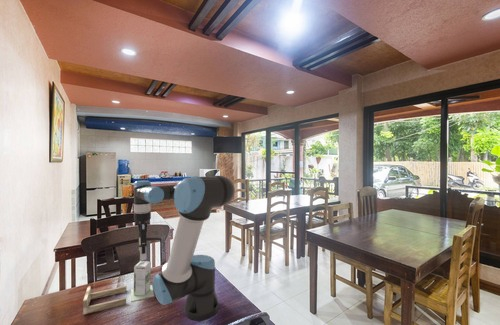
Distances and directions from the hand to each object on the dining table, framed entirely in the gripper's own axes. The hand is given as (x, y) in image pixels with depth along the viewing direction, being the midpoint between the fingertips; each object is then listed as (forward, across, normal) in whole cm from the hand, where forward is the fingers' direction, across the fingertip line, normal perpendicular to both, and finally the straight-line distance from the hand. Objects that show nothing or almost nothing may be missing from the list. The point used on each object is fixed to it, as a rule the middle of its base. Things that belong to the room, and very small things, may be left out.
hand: (142, 254), depth 115 cm
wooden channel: (+19, +1, +15) cm, 25 cm away
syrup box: (+19, +1, 0) cm, 19 cm away
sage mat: (+19, +1, 0) cm, 19 cm away
